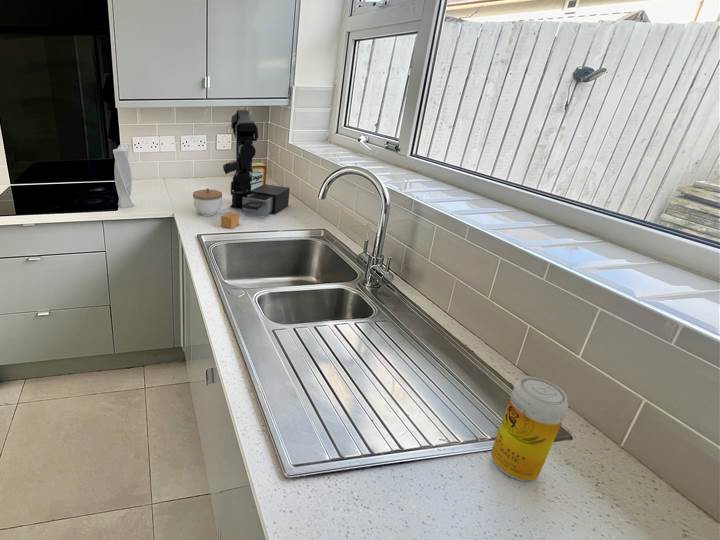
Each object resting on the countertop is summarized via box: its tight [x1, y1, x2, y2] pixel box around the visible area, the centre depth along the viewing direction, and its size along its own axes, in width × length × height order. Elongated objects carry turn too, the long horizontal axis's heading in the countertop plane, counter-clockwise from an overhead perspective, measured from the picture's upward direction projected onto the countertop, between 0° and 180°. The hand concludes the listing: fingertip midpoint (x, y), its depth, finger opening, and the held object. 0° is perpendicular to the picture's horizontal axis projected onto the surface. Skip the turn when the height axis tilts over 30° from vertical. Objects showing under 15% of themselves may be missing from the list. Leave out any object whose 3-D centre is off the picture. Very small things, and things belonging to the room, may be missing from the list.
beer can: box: [490, 376, 569, 482], centre depth 60 cm, size 6×6×15 cm
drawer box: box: [250, 183, 290, 215], centre depth 182 cm, size 15×13×9 cm
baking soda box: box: [247, 162, 267, 196], centre depth 199 cm, size 10×6×16 cm
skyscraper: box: [112, 142, 134, 209], centre depth 182 cm, size 8×8×28 cm
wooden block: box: [220, 211, 240, 230], centre depth 161 cm, size 5×6×4 cm
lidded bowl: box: [192, 188, 223, 217], centre depth 174 cm, size 13×13×11 cm
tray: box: [241, 193, 274, 218], centre depth 174 cm, size 18×11×7 cm, turn 147°
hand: (243, 193), depth 163 cm, fingers closed
